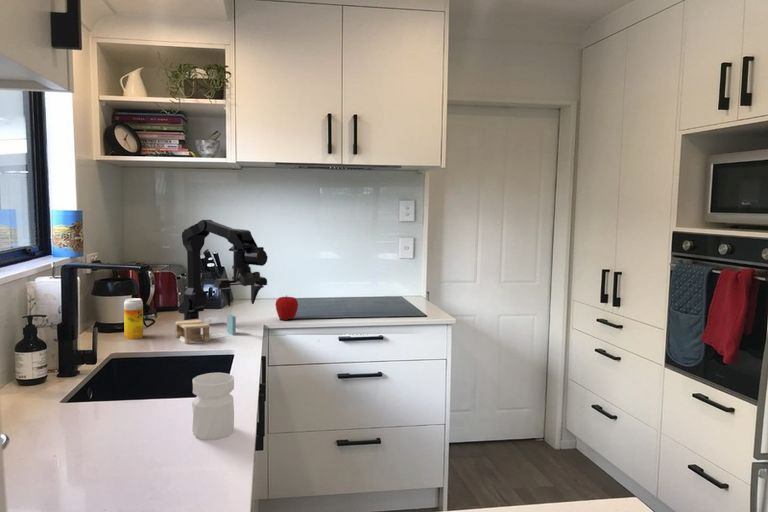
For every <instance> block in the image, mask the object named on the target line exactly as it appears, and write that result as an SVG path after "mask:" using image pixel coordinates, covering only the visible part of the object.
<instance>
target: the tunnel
mask: <svg viewBox="0 0 768 512" xmlns="http://www.w3.org/2000/svg"><path fill="white" fill-rule="evenodd" d="M174 324H175V328H174V329H175V330H174V332H175V339H180V336H183V337H184V329H185V342H184V344H186V345H191V344H192V341H191V329H197V328H201V329H202V336H203V340H202V341H203V342H210V339H209V335H210V324H208V323H207V322H204V321H203V320H201V319H200V318H199V319H192V320H184V319H183V320H176V321H175V323H174Z"/></svg>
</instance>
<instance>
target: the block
mask: <svg viewBox="0 0 768 512" xmlns="http://www.w3.org/2000/svg"><path fill="white" fill-rule="evenodd" d="M201 330H202V328H197V329H191V342H194V341H193V340H198V341H202V340H201V336H202V335H201V332H202V331H201ZM184 338H185V329H184Z"/></svg>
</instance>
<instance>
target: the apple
mask: <svg viewBox="0 0 768 512" xmlns="http://www.w3.org/2000/svg"><path fill="white" fill-rule="evenodd" d="M298 307H299V302H298V299H296V297H293V296H288V295H285V296H281V297H278V298H277V299H276V300H275V311H276V313H277V315H278V318H279V319H280V320H282V319H283V320H282V321H289V320H288V319H291V320H292V319H294V318H295V317H296V315H297V313H298Z"/></svg>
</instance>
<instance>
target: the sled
mask: <svg viewBox="0 0 768 512" xmlns="http://www.w3.org/2000/svg"><path fill="white" fill-rule="evenodd" d="M236 318H237V317H236V316H235V315H233V314H231V313H229V314H226V320H227V321H226V332H220V333H214V334H209V340H212V339H219V338H226V337H234V336H237V334H236V332H237V331H236V322H237V321H236ZM178 340H179V341H181V342H183V343H185V338H184V337H183V336H180V338H178ZM197 341H198V342H199V340H193V341H192V342H197ZM200 341H203V335H201V340H200Z"/></svg>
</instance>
